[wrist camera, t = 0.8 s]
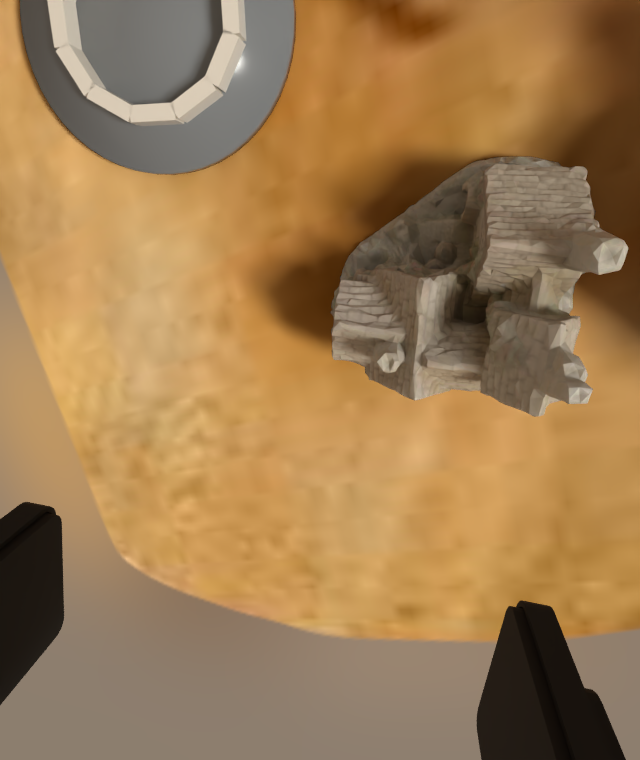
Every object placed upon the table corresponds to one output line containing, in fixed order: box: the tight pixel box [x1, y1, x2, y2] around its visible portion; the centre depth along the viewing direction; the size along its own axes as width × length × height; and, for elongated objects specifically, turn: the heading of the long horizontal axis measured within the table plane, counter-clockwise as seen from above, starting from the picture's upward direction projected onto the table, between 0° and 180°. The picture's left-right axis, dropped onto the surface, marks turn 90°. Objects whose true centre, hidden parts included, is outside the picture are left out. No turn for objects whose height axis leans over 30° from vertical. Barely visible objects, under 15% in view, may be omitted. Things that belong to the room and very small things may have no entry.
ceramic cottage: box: [330, 156, 628, 416], centre depth 30 cm, size 16×16×15 cm
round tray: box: [20, 0, 296, 175], centre depth 33 cm, size 18×18×2 cm
